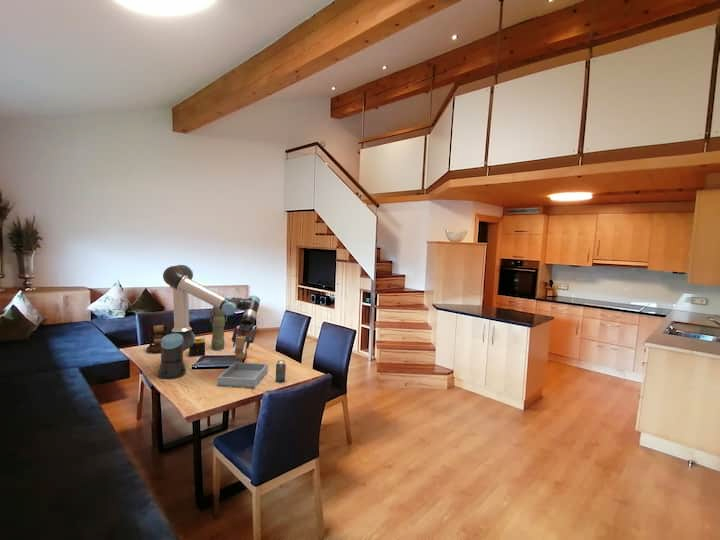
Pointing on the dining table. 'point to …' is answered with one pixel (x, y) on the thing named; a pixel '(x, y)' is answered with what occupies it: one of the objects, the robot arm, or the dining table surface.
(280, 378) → the pepper mill
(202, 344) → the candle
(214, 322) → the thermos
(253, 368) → the tray
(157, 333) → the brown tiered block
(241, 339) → the walnut block
